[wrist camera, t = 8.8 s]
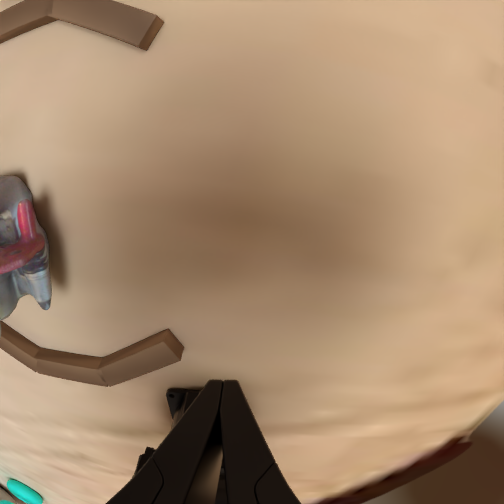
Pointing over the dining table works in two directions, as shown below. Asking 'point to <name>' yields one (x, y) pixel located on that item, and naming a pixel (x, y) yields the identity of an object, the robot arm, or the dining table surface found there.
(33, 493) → the donuts
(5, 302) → the brake caliper
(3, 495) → the soup bowl
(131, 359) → the bent brown bar
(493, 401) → the dining table surface
